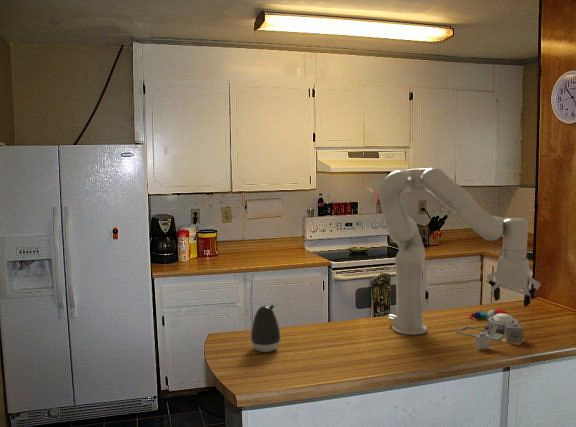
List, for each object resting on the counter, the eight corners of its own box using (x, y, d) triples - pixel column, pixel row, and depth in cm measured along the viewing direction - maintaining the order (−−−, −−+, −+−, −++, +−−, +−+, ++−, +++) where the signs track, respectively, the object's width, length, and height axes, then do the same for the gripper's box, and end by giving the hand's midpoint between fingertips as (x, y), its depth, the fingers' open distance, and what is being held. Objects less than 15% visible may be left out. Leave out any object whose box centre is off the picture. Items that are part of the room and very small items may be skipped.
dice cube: (522, 342, 166) (522, 328, 166) (506, 341, 168) (506, 327, 167) (519, 337, 171) (519, 323, 171) (504, 336, 172) (504, 323, 172)
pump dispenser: (286, 346, 169) (285, 304, 167) (270, 357, 160) (269, 312, 158) (262, 342, 174) (260, 300, 172) (245, 352, 165) (243, 308, 163)
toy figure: (467, 323, 194) (507, 323, 184) (466, 310, 194) (505, 310, 185) (473, 319, 200) (512, 320, 190) (472, 307, 200) (510, 307, 191)
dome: (490, 324, 182) (491, 315, 181) (497, 320, 186) (497, 311, 186) (508, 328, 177) (508, 318, 177) (514, 323, 182) (514, 314, 182)
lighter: (478, 349, 162) (478, 326, 161) (475, 347, 164) (475, 324, 163) (497, 347, 163) (497, 324, 162) (494, 345, 165) (494, 322, 164)
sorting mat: (456, 332, 178) (456, 331, 178) (465, 326, 185) (465, 326, 185) (517, 346, 164) (517, 345, 164) (525, 339, 170) (525, 338, 170)
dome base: (484, 328, 182) (484, 321, 181) (494, 322, 189) (494, 314, 189) (512, 334, 175) (512, 326, 175) (521, 327, 182) (521, 319, 182)
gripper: (484, 252, 169) (482, 300, 171) (538, 259, 158) (534, 310, 159) (492, 249, 175) (490, 295, 177) (545, 256, 163) (541, 305, 165)
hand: (511, 302), depth 168 cm, fingers open, 9 cm apart
